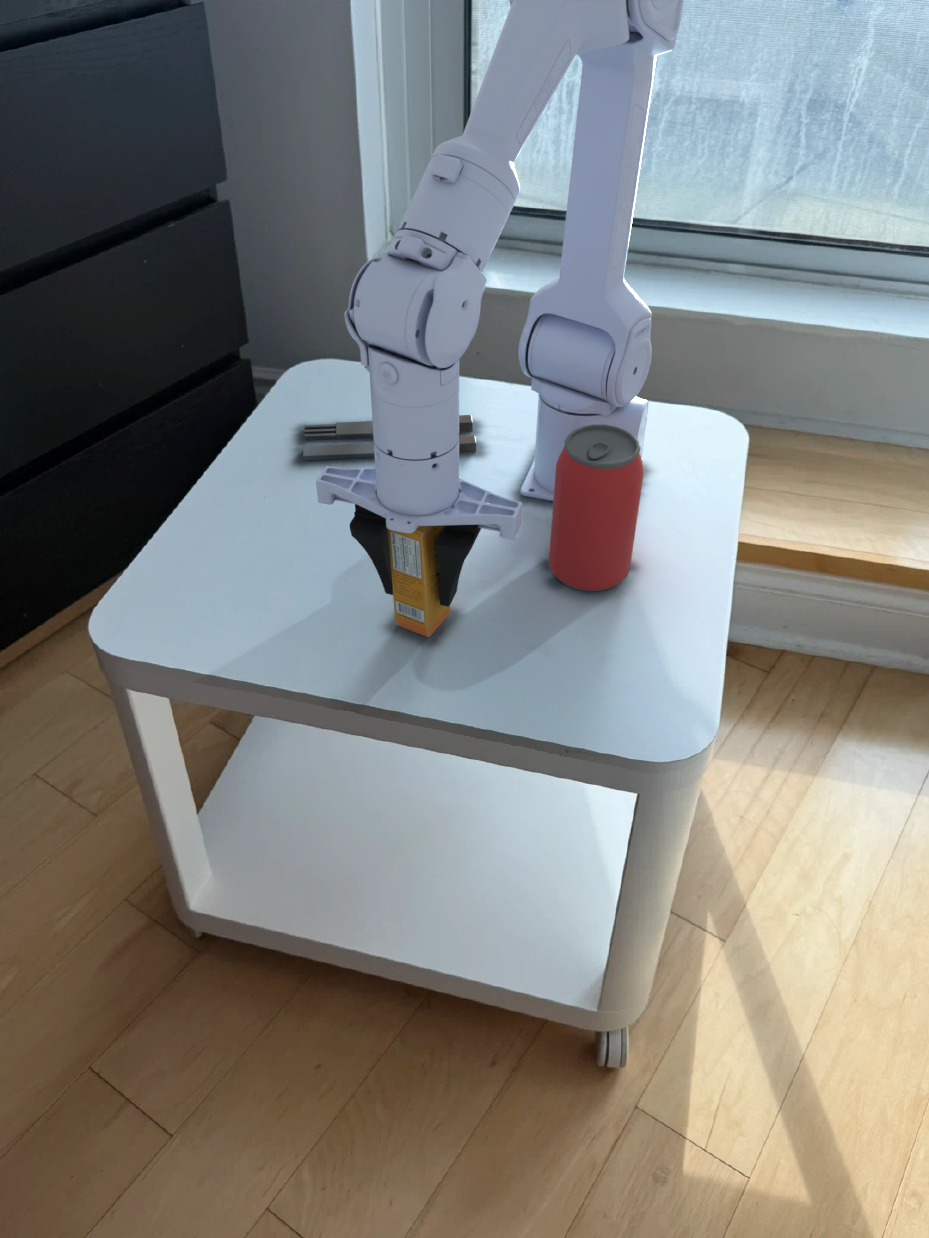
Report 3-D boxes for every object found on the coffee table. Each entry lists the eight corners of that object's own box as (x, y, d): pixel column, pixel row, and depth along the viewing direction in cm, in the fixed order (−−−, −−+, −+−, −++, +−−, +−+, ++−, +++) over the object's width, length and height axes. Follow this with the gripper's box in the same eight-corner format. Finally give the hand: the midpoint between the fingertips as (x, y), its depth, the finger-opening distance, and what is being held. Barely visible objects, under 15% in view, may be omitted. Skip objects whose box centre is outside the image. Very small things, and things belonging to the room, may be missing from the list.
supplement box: (413, 600, 84) (411, 496, 77) (451, 615, 83) (452, 511, 76) (390, 624, 82) (385, 520, 75) (428, 641, 81) (427, 535, 74)
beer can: (534, 579, 86) (543, 453, 78) (567, 535, 90) (579, 411, 82) (611, 605, 84) (627, 478, 76) (641, 558, 88) (660, 433, 80)
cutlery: (470, 421, 104) (471, 412, 103) (476, 453, 100) (476, 444, 99) (305, 428, 103) (303, 419, 102) (303, 460, 98) (302, 451, 98)
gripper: (291, 450, 70) (310, 606, 79) (505, 489, 67) (499, 646, 76) (332, 397, 75) (345, 549, 84) (533, 431, 72) (524, 585, 81)
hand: (420, 591), depth 80 cm, fingers closed on supplement box, 4 cm apart
